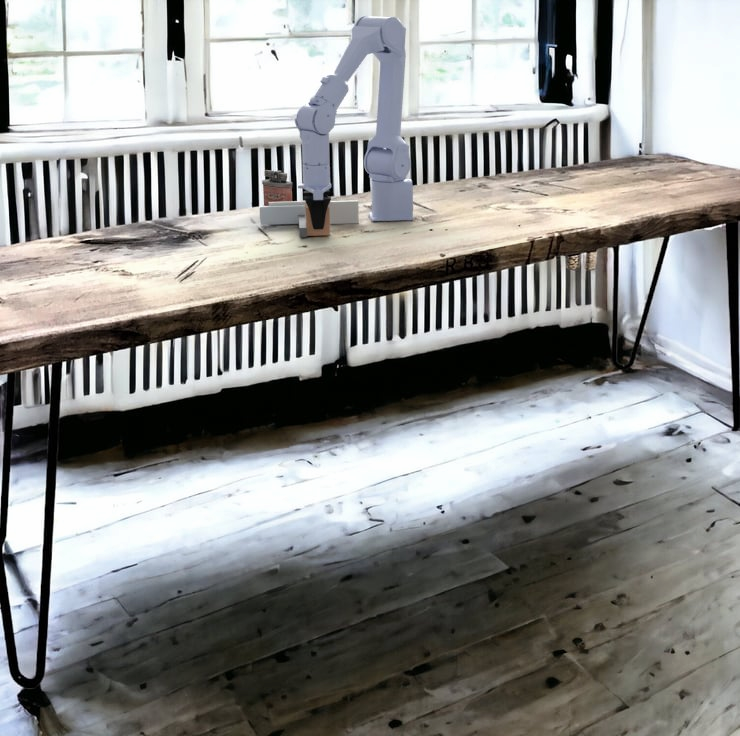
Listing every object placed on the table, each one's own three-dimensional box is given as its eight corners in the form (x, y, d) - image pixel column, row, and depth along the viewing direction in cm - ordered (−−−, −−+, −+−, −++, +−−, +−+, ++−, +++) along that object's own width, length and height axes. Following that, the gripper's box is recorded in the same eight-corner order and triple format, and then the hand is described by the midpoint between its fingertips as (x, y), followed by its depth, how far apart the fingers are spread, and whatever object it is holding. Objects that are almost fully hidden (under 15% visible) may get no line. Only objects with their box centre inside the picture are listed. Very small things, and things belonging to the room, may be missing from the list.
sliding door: (305, 222, 233) (304, 204, 231) (306, 237, 220) (306, 218, 219) (260, 223, 232) (259, 206, 231) (259, 238, 220) (258, 220, 218)
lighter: (296, 213, 242) (294, 171, 239) (287, 216, 240) (286, 173, 236) (269, 210, 247) (267, 168, 243) (260, 212, 244) (258, 170, 240)
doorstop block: (329, 230, 225) (328, 203, 223) (330, 235, 222) (329, 207, 219) (306, 231, 225) (305, 204, 223) (306, 235, 221) (305, 208, 219)
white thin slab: (358, 221, 235) (357, 199, 233) (358, 223, 233) (358, 201, 231) (269, 224, 233) (268, 202, 231) (269, 225, 231) (268, 203, 230)
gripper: (296, 157, 224) (298, 219, 229) (297, 170, 211) (300, 235, 216) (328, 156, 225) (330, 218, 230) (332, 169, 211) (333, 234, 216)
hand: (317, 226), depth 223 cm, fingers closed on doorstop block, 4 cm apart
